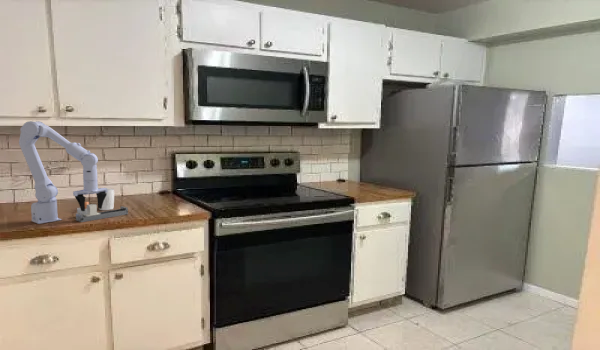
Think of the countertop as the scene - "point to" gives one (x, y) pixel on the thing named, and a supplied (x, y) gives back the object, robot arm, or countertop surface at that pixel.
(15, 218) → the countertop surface
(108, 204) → the white cup
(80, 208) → the white hollow block
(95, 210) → the carriage
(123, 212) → the rail
